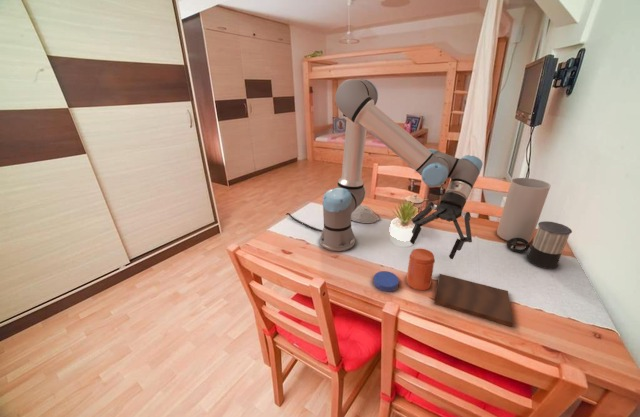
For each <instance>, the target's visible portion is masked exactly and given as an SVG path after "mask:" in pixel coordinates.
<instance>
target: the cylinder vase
mask: <svg viewBox="0 0 640 417" xmlns="http://www.w3.org/2000/svg"><path fill="white" fill-rule="evenodd" d="M550 189H551V184H550V183H549V182H546V181H544V180H540V179H535V178H529V177H514V178H512V179H511V180H510V185H509V187H508V191H507V194H506V198H505V202H504V205H503V209H502V211H501V215H500V219H499V222H498V226H497V229H496V234H497V236H498V237H499V238H500V239H502V240H503V241H506V242H507V241H508V240H510V239H513V238H522V239H525V240H526V241H527V242H528V243H529V244H530V242H532V241H533V237H534V234H535V231H536V229H537V226H538V224H539V220H540V217H541V214H542V212H543V209H544V206H545V203H546V200H547V197H548V195H549V192H550ZM517 244H518V245H525V244H524V243H522V242H519V241H517V243H516V245H517Z"/></svg>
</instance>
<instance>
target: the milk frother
mask: <svg viewBox="0 0 640 417" xmlns="http://www.w3.org/2000/svg"><path fill="white" fill-rule="evenodd" d="M537 226H538V227H537V230H536V233H535V236H534V239H533V240H532V241H533V242H532V243H531V244H530V242H529V243H528V242H527V241H526V240H525V239H522V238H513V239H510V240H508V241H506V244H505V245H506V247H507V248H508V249H509V250H510V251H512V252H514V253H515V252H516V253H525V252H527V251H528V250H529V249H530V250H529V251H528V254H527V255H526V259H527V261H528V262H529V263H530V264H532V265H534V266H537V267H540V268H542V269H549V270H553V269H557V268H558V266H559V261H560V259H561V257H562V254H563V252H564V249H565V247H566V245H567V242H568V239H569V237H570V235H571V234H572V233H573V229H571V228H570V227H569V226H567V225H564V224H562V223H558V222H554V221H547V220H546V221H545V220H544V221H539V222H538V223H537ZM517 241H519V242H522V243H524V244H523V245H524V248H516V247H517Z"/></svg>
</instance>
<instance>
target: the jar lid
mask: <svg viewBox="0 0 640 417" xmlns="http://www.w3.org/2000/svg"><path fill="white" fill-rule="evenodd" d="M399 279H400V278H399V277H398V276H397V275H396V274H395V273H394V272H391V271H388V270H380V271H378V272H376V273H375V274H374V276H373V285H374V286H375V288H377V289H378V290H380V291H382V292H393V291H396V290H397V289H398V288H399V283H400V281H399Z"/></svg>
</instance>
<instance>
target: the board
mask: <svg viewBox="0 0 640 417" xmlns="http://www.w3.org/2000/svg"><path fill="white" fill-rule="evenodd" d="M434 304H435V305H438V306H442V307H444V308H448V309H452V310H455V311H458V312H461V313H465V314H468V315H471V316H474V317H478V318H481V319H484V320H488V321H491V322H494V323H497V324H501V325H504V326H507V327H513V325H514V320H513V313H512V307H511V302H510V294H509V291H508V290H505V289H502V288H498V287H494V286H490V285H486V284H482V283H479V282H474V281H471V280H466V279H462V278H458V277H455V276H451V275H447V274H443V273H439V274H438V281H437V285H436V290H435V297H434Z"/></svg>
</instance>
